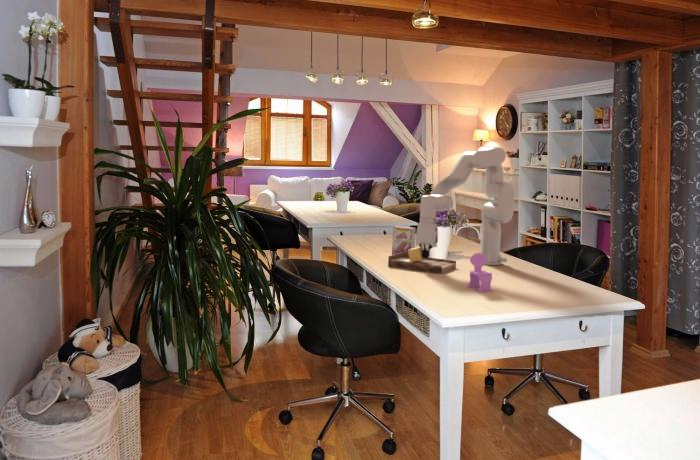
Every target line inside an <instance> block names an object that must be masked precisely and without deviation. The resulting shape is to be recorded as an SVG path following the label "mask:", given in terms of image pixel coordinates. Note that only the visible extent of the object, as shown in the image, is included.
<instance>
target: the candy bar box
mask: <svg viewBox="0 0 700 460" xmlns="http://www.w3.org/2000/svg"><path fill="white" fill-rule="evenodd" d="M392 229H393V230H392V245H391V246H392V248H391V249H392V251H391V255H395V254H398V253H401V252H405V251H406V254H407V255H409V254H408V250H409V249H412V248H416V230H417V228H416V227H410V226H409V227H408V226H401V225H394V226H393V228H392Z"/></svg>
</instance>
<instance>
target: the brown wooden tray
mask: <svg viewBox="0 0 700 460" xmlns="http://www.w3.org/2000/svg"><path fill="white" fill-rule="evenodd" d="M387 264H388V265H387V266H388V267H390V268H396V267H397V268H398V269H403V268H404V269H403V270H410V269H411V271H417V270H418V272H419V271H420V272H425V273H429V274H430V273H431V274H439V275H442V274H445V273H447V272H450V271H451V270H454V269H456V268H457V261H456V260H450V259H444V258H443V259H442V258H435V257H428V258H426V259H423V260H421V261H414V262H410V258H409V255H407V254H406V251H405V252H401V253H398V254H395V255H392V254H391V255H389V256H388V262H387Z"/></svg>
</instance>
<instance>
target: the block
mask: <svg viewBox="0 0 700 460" xmlns="http://www.w3.org/2000/svg"><path fill="white" fill-rule="evenodd" d="M422 252H423V250H422V248H421V247H420V246H417V247H415V248H412V249H409V250H408V254H409V258H410V262H414V261H421V260H423V259H425V258H423V256H422Z"/></svg>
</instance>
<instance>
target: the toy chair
mask: <svg viewBox="0 0 700 460" xmlns="http://www.w3.org/2000/svg"><path fill="white" fill-rule="evenodd" d="M469 258H470V259H469V261H470V263H471V264H472V265H473V267H474V268H473V269H474V270H470V273H469V278H470V279H469V283H468V285H467V288H479V289H478V291H477V293H481V292H482V293H485V292H492V288H491V287H492V286H491V283H492V281H493V273H491V272H488V271H486V270H482V267H484V266H485V264H486V262H487V257H486V256H485V255H484V254H481V252H477V253H476V252H475V253H474V254H473V255H471V256H470V257H469Z"/></svg>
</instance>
